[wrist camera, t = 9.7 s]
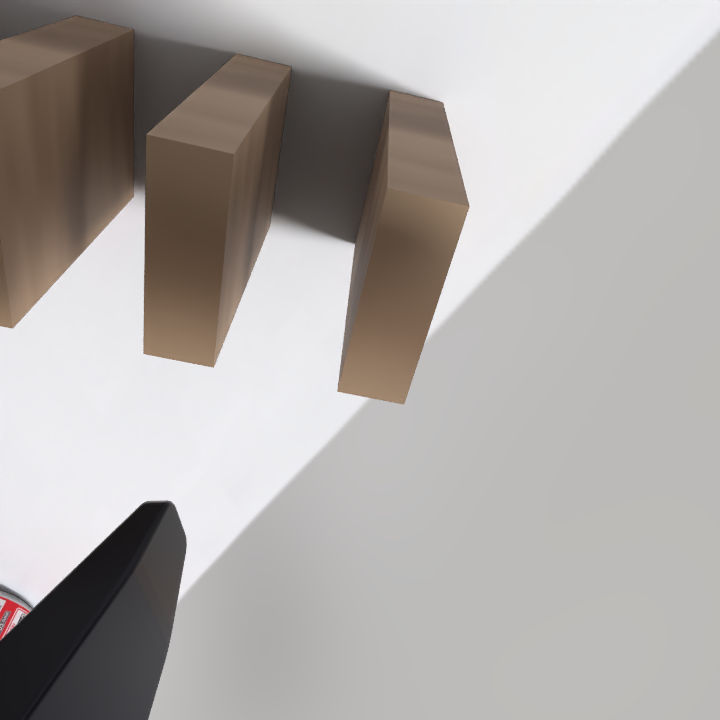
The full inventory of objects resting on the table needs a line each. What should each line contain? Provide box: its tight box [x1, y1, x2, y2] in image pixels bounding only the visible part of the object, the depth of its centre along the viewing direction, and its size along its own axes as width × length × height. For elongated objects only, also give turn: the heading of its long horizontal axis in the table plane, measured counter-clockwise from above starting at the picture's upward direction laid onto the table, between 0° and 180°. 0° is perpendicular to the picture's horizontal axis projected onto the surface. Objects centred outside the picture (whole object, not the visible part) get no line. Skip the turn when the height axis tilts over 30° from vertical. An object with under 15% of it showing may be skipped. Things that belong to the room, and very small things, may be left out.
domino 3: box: [338, 90, 469, 404], centre depth 17 cm, size 5×2×8 cm, turn 168°
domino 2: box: [143, 54, 292, 367], centre depth 16 cm, size 5×2×8 cm, turn 168°
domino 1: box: [0, 16, 134, 328], centre depth 16 cm, size 5×2×8 cm, turn 168°
